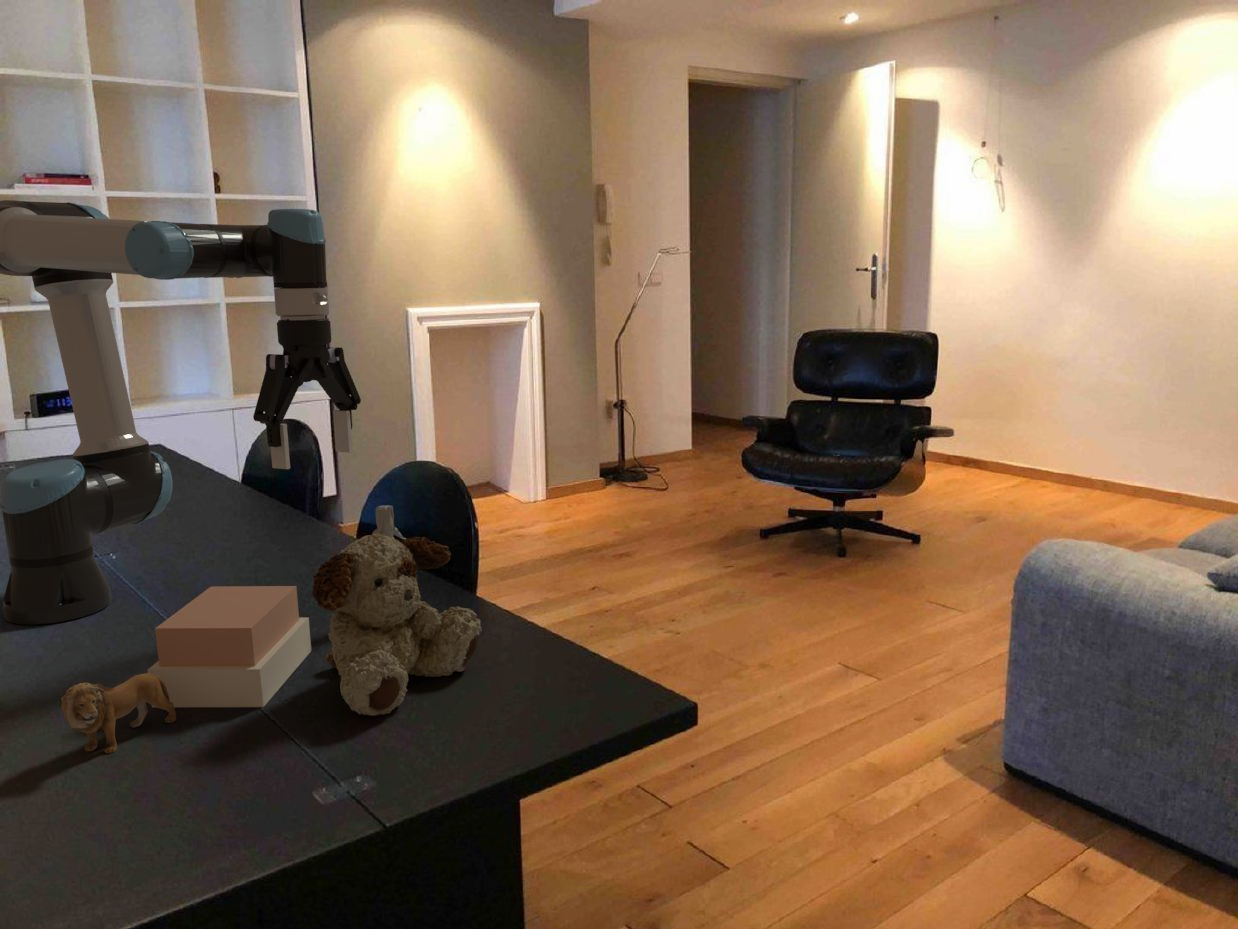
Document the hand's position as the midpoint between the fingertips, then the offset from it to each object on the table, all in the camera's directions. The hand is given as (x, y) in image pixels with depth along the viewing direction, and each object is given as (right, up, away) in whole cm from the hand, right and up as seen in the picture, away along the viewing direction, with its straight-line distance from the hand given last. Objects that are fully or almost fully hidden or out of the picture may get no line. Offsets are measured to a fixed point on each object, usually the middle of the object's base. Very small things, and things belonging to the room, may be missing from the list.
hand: (314, 459), depth 148 cm
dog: (+15, -29, -19) cm, 38 cm away
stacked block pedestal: (-5, -29, -17) cm, 34 cm away
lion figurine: (-11, -33, -34) cm, 49 cm away
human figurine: (+11, -25, +4) cm, 27 cm away
